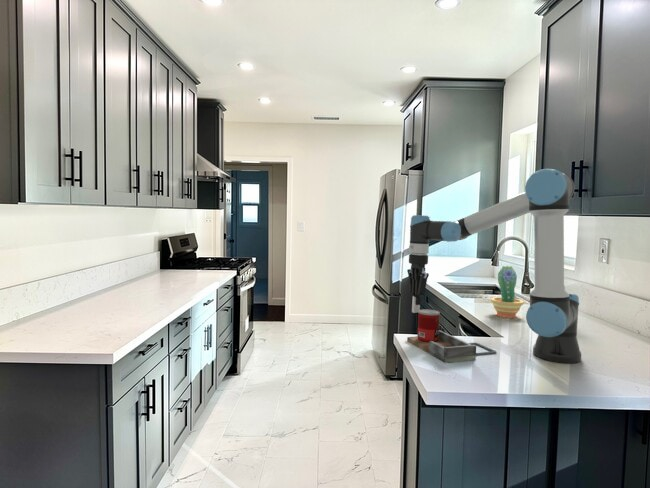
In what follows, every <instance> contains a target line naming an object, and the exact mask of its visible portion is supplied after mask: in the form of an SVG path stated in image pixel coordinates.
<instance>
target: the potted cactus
mask: <svg viewBox="0 0 650 488" xmlns="http://www.w3.org/2000/svg"><path fill="white" fill-rule="evenodd" d="M517 277H518V275H517V273H516V271H515V269H514V268H513V266H512V265H511V266H509V265H506V266H505V265H503V266H502V268H500V270H499V271H498V272H497V283H498V286H499V288H500V295H501V296H494V297H491V298H490V302H491V303H492V305H493V308H494V310H495V311H496V315H497V317H501V318H507V319H508V318H509V319H512V318H516V317H517V314H518V312H520V309H521V307H522V306H523V305H524V303H525V301H524V300H522V299H519V298H515V294H516V293H515V288H516V285H517Z"/></svg>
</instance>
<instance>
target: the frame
mask: <svg viewBox="0 0 650 488" xmlns="http://www.w3.org/2000/svg"><path fill="white" fill-rule="evenodd" d="M468 343H469V344H471V345H476V346H478V347H480V348H483V349H485V350H487V351H484V352H483V351H482V352H476V356H483V355H484V356H485V355H493V354H497V351H496V350H494V349H492V348H489V347H487V346H485V345H484V344H481V343H479V342H468Z"/></svg>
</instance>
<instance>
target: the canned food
mask: <svg viewBox="0 0 650 488" xmlns="http://www.w3.org/2000/svg"><path fill="white" fill-rule="evenodd" d="M440 313H441V312H440V311H439V310H435V309H429V308H428V309H426V308H425V309H424V308H423V309H420V310H419V311H418V314H417V337H418V339H419V340H420V341H423V342H430V341H433V342H437V341H438V339H439V330H440V318H441V317H440V315H441V314H440Z"/></svg>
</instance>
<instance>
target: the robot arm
mask: <svg viewBox="0 0 650 488" xmlns="http://www.w3.org/2000/svg"><path fill="white" fill-rule="evenodd" d="M524 185H525V186H524V192H521V193H519V194H517V195H515V196H512V197H510V198H508V199H505V200H503V201H500V202H498V203H496V204H493V205H491V206H489V207H486V208H484V209H481V210H479V211H477V212H475V213H472V214H470V215H467V216H465V217H462V218H460V219H459V220H458V219H457V220H455V221H454V220H452V221H450V220H447V221H444V220H441V221H440V220H431V216H430V215H419V214H418V215H415V214H414V215H412V216H411V217H410V225H409V228H410V230H409V231H410V232H409V245H408V247H409V248H408V250H409V254H408V264H410V269H409V268H408V269H407V271H406V272H407V274H408V288H409V289H408V290H409V294H411V296H412V298H411V299H412V304H411V313H413V314H416V313H418V311H419V310H421V297H424V296H425V293H426V287H427V282H428V278H429V276H430V275H429V274H430V273H429V272H426V265H428V264H429V255H428V254H430V252H429V251H430V250H429V249H430V248H429V247H430V246H429V245H430V241H439V242H440V241H441V242H447V243H449V242H450V243H451V242H458V241H462V240H465V239H467V238H468V237H470V236H472V235H476V234H478V233H480V232H483V231H485V230H488V229H490V228H493V227H496V226H498V225H501V224H503V223H506V222H508V221H511V220H514V219H516V218H518V217H521V216H524V215H526V214H531V215H532V216H533V218H534V220H533V222H534V223H533V224H534V225H533V227H534V228H533V234H534V235H533V237H534V241H533V242H534V243H533V244H534V252H533V253H534V255H533V256H534V288H533V290H532V291H531V292H530V293H529V307H528V309H527V311H526V314H525V319H526V320H525V321H526V323H527V326H528V328H529V329H530V330H531V331H532V332H534V334H536V335H537V338H536V340H535V344H534V345H533V346H532V347H533V348H532V354H533V355H534V356H536V357H537V358H539V359H542V360H546V361H549V362H555V363H561V364H576V363H577V364H578V363H580V362H581V361H582V352H581V351H580V346H579V342H578V338H577V337H578V336H577V335H578V322H579V307H580V300H579V298H580V297H579V296H578V295H577V294H576V293H569V292H567V291H566V289H565V290H564V287H565V237H564V236H565V235H564V231H565V229H564V228H565V227H564V225H565V220H564V217H565V215H566V213H568V212H569V211H570V200H571V199H572V197H573V195H574V193H575V183H574V179H572V177H570V176H569V175H568V174H566V173H565V172H562V171H560V170H558V169H556V168H555V169H554V168H543V169H539V170H537V171H535V172H533V173H532V174H530V176H529V177H528V178H527V180H526V183H525V184H524Z"/></svg>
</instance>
